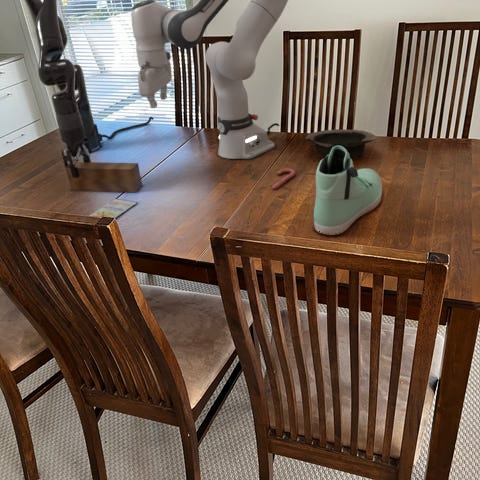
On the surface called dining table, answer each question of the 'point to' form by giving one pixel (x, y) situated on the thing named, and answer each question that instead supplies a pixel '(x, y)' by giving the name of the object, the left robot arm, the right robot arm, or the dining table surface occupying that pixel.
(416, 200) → the dining table surface
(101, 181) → the bar
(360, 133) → the stone bowl
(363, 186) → the sneaker
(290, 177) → the candy cane
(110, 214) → the baking ingredient package
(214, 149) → the dining table surface
